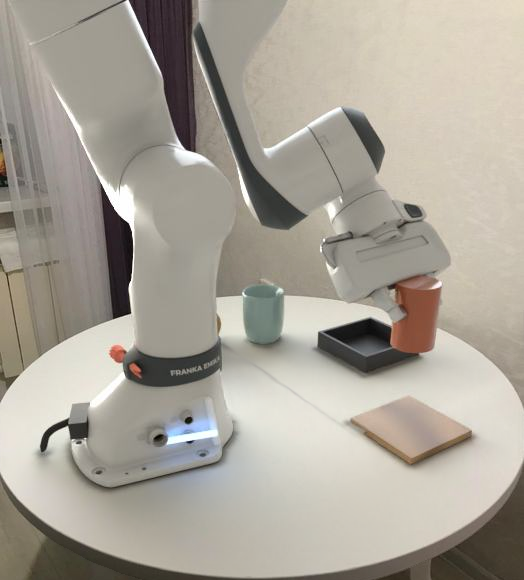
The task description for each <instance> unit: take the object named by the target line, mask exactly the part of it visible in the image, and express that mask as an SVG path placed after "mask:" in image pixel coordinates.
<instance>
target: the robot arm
mask: <svg viewBox="0 0 524 580" xmlns="http://www.w3.org/2000/svg"><path fill="white" fill-rule="evenodd" d="M289 1H290V0H197V2H198V21H197V22H196V25H194V28H193V31H192V40H193V46H194V51H195V55H196V58H197V62H198V65H199V67H200V69H201V72H202V76H203V78H204V81H205V85H206V90H207V91H208V94H209V95H208V96H210V100H211V102H212V105H213V108H214V110H215V113H216V116H217V118H218V121H219V124H220V127H221V130H222V132H223V134H224V138H225V139H226V143H227V145H228V148H229V151H230V153H231V155H232V156H233V160H234V162H235V164H236V169H237V173H238V177H239V183H240V188H241V192H242V196H243V199H244V201H245V204H246V206H247V208H248V210H249V212H250V213H251V215H252V217H253V218H254V219H255V220H256V221H257V222H258V223H260V225H261V226H262V227H265V228H269V229H272V230H273V229H274V230H281V231H290V229H292V228H293V227H295V226H296V225H298V224H299V223H300V222H302V221H303V220H305V219H306V218H308V217H309V215H310V214H312V213H314V212H315V211H317V210H319V209H320V208H324V209H325V211H326V213H327V215H328V217H329V223H330V225H331V228H332V229H333V231H334V232H335V234H336V235H330V236H329V235H328V236H326V237H325V238H323V241H322V242H321V244H320V249H319V251H320V254H321V256H322V257H323V259H324V261H325V265H326V270H327V272H328V275H329V277H330V280H331V282H332V285H333V287H334V289H335V291H336V293H337V295H338V297H339V298H340V299H341V300H342V301H343V302H345V303H346V304H348V305H349V304H354V303H356V302H359V301H362V300H366V299H369V298H370V299H371V300H372V302H373V303H374V305H375V306H377V307H378V308H379V309H381V310H382V311H383V312H385V313H386V314H387V315H388V317H389V318H390V320H391V323H392V322H393V323H396V322H399V321H401V320H403V319H405V318H406V317H407V316H408V312H407V311H406V310H405V307H404V306H403V304H400V305H398V304H397V303H396V302H395V301H394V298H392V297H391V296H390V295H391V291H395V284H396V283H397V282H400V281H403V280H407V279H410V278H413V277H416V276H427V277H432V278H435V279H437V276H439V275H440V274H441V273H443V272H445V271H446V270H447V269H448V268H449V267H451V266H452V265H451V264H452V257H451V253H450V252H449V250H448V248H447V246H446V245H445V242H444V241H443V240H442V237H441V236H440V235H439V233H438V232H437V230H436V229H435V227H434V226H433V225H432V224H431V223H429V222H428V221H426V220H425V219H426V218H427V217H428V215H427V212H426V209H424V207H423V206H421V205H420V204H416V203H411V202H405V201H402V200H399V199H397V198H392V197H391V196H390V194H389V193H388V191H387V190H386V189H385V188H384V187H383V186H382V185H381V184H380V183H379V182H378V180H377V178H376V176H377V175H379V173H380V170H381V168H382V165H383V161H384V157H385V154H386V149H385V145H384V143H383V142H382V140H381V138H380V137H379V136H378V134H377V132H376V130H375V129H374V127H373V126H372V124H371V123H370V121H369V119H368V117H367V115H366V114H365V112H364V111H361V110H359V109H356V108H354V107H349V106H344V105H343V106H340V107H337V108H334V109H332V110H331V111H328V112H326V113H325V114H323V115H322V116H320V117H319V118H317V119H315V120H314V121H311V122H310V123H308V124H307V125H306V126H305V127H304V128H302V129H300V130H299V131H296V133H295V132H294V134H292V135H291V136H289V137H287V138H286V139H284V140H282V141H281V142H279V143H277V144H276V145H273V146H272V147H268V148H267V147H264V146H263V144H262V140H261V138H260V135H259V132H258V129H257V126H256V123H255V120H254V117H253V115H252V111H251V108H250V105H249V102H248V99H247V95H246V93H245V77H246V72H247V69H248V67H249V65H250V62H251V60H252V58H253V56H254V54H255V53H256V52H257V50H258V49H259V47H260V46H261V44H262V43H263V41H264V40H265V39H266V37H267V35H268V34H269V33H270V32H271V30H272V29H273V28H274V26H276V24H277V22H278V21H279V19H280V18H281V16H282V15H283V13H284V11H285V9H286V7H287V6H288V3H289ZM7 3H8V5H9V7H10V10H11V11H12V13H13V16H14V18H15V20H16V22H17V24H18V26H19V28H20V30H21V32H22V34H23V35H24V37H25V39H26V42H27V43H28V44H29V45H30V48H31V50H32V52H33V54H34V55H35V57H36V60H37V62H38V63H39V65H40V67H41V68H42V70H43V72H44V74H45V75H46V77H47V79H48V81H49V82H50V84H51V86H52V88H53V90H54V92H55V93H56V95H57V97H58V99H59V101H60V103H61V104H62V106H63V108H64V109H65V111H66V113H67V115H68V117H69V118H70V121H71V123H72V124H73V126H74V128H75V130H76V133H77V135H78V137H79V139H80V141H81V144H82V147H83V148H84V150H85V153H86V154H87V157H88V159H89V161H90V163H91V165H92V167H93V169H94V171H95V173H96V175H97V177H98V179H99V181H100V184H101V185H102V187H103V189H104V191H105V193H106V195H107V197H108V199H109V201H110V203H111V205H112V206H113V207H114V210H115V211H116V212H117V214H118V215H119V216H120V217H121V218H122V219H123V220H124V221H126V222H127V223H128V224H129V226H130V229H131V232H132V241H133V255H132V256H133V258H132V273H131V281H130V282H129V285H128V294H129V295H128V296H129V303H130V312H131V314H130V315H131V323H132V330H133V331H132V332H133V339H134V340H133V341H132V344H131V346H130V348H129V349H128V350H126V349H125V348H124V347H123V346H122V345H120V344H115V345H112V346H111V347H110V349H109V353H108V355H109V357H110V358H111V359H113V361H114V362H115V363H117V364H122V372H121V373H120V374H119V375H118V376H117V377H116V378H115V379H114V380H113V381H111V383H110V384H108V385H107V387H106V388H105V389H103V390H102V391H101V392H100V393H99V394H98V395H97V396H96V397H94V399H93V400H91V402H89V401H88V402H77V403H72V404H71V409H70V413H69V417H67V418H66V419H63V420H60V421H58V422H56V423H54V424H52V425H50V426H48V427H47V429H46V430H45V431H44V433H43V434H42V436H41V440H40V444H39V449H40V453H44V452H46V450H47V448H48V445H49V441H50V438H51V436H52V435H54V434H55V433H56V432H58V431H59V430H63V429H65V428H68V434H69V437H70V438H69V439H70V440H71V454H72V458H73V460H74V462H75V464H76V466H77V467H78V469H79V470H80V471H81V473H82V474H83V475H84V476H85V477H86V478H87V479H89V480H90V481H91V482H92V483H94V484H97V485H99V486H102V487H105V488H115V487H120V486H124V485H128V484H132V483H137V482H140V481H145V480H149V479H152V478H157V477H161V476H165V475H171V474H173V473H174V474H175V473H178V472H181V471H186V470H190V469H195V468H198V467H202V466H207V465H210V464H214V463H215V464H216V462H219V461H220V460H221V458H222V455H223V448H224V446H225V445H226V443H227V442H228V441H229V440H230V439H231V437H232V435H233V433H234V432H233V431H234V423H233V420H232V418H231V416H230V413H229V410H228V406H227V403H226V398H225V393H224V388H223V387H224V386H223V381H222V373H221V372H222V371H223V351H222V350H223V349H222V348H223V347H222V339H221V336H220V334H219V335H218V332H217V314H218V309H217V308H218V307H217V306H218V305H217V283H218V282H217V281H218V273H219V266H220V260H221V255H222V250H223V245H224V241H225V240H226V238H227V237H228V236H229V234H230V233H231V231H232V229H233V227H234V224H235V221H236V217H237V211H238V210H237V208H238V204H237V197H236V193H235V191H234V188H233V186H232V183H231V182H230V181H229V179H228V178H227V177H226V176H225V174H224V173H223V172H222V170H220V168H218V167H217V166H216V165H215V163H213V161H211V160H209V158H207V157H205V156H204V155H201V154H200V153H197V152H193V151H190V150H187V149H186V148H185V147H184V146H183V145H182V143H181V141H180V140H179V137H178V135H177V132H176V129H175V127H174V123H173V120H172V117H171V114H170V110H169V106H168V103H167V99H166V94H165V89H164V87H165V85H164V77H163V74H162V71H161V69H160V66H159V65H158V62H157V61H156V59H155V56H154V54H153V52H152V49H151V48H150V45H149V43H148V40H147V39H146V36H145V34H144V32H143V29H142V27H141V25H140V23H139V21H138V19H137V16H136V13H135V11H134V10H133V7H132V6H131V2H130V1H129V0H125V1H124V0H7ZM34 43H35V44H34ZM32 44H33V45H32ZM441 305H443V299H442V298H441V300H440V306H441Z"/></svg>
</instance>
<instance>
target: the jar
mask: <svg viewBox="0 0 524 580" xmlns="http://www.w3.org/2000/svg"><path fill="white" fill-rule="evenodd" d="M435 278H436V277H435ZM435 278H432V277H427V276H416V277H413V278H410V279H407V280H403V281H400V282H397V283H396V284H395V289H394V296H393V300H394V301H395V302H396V303H397V304H398V305H400V304H403V306H404V307H405V310H406V311H407V312H408V316H407V317H406V318H405V319H403V320H401V321H399V322H396V323H393V322H392V321H391V325H390V326H391V337H390V344H391V346H392V347H394V348H395V349H397V350H400V351H403V352H407V353H419V354H426V353H429V352H431V351H433V350H434V348H435V345H436V338H437V331H438V322H439V314H440V307H441V305H440V300H441V299H442V291H443V282H442V281H441V280H440V279H437V278H436V279H435Z"/></svg>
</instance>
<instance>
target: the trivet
mask: <svg viewBox="0 0 524 580" xmlns="http://www.w3.org/2000/svg"><path fill="white" fill-rule="evenodd" d="M350 422H351V423H352V424H354V425H355V426H357V427H359V428H360V429H362V430H363V431H364V434H365V435H366V436H367V437H369V438H370V439H372V440H373V441H375V442H376V443H378V444H380V445H381V446H383V447H384V448H385V449H387V450H388V451H390V453H393V454H394V455H396V456H397V457H399V458H400V459H402V460H403V461H405V462H406V463H407V464H409V465H413V464H415V463H417V462H420V461H421V460H424V459H426V458H428V457H430V456H432V455H434V454H436V453H439V452H441V451H443V450H444V449H445V450H446V449H447V448H449V447H452V446H453V445H456V444H458V443H460V442H462V441H464V440H466V439H469V438H470V437H472V434H473V430H472V429H471V428H469V427H467V426H465V425H464V424H461V423H460V422H458V421H456V420H455V419H452V418H451V417H449V416H447V415H446V414H443V413H442V412H440V411H438V410H436V409H435V408H432V407H431V406H429V405H428V404H425V403H424V402H422V401H420V400H418V399H417V398H414V397H413V396H411V395H407V396H404V397H401V398H399V399H397V400H394V401H391V402H389V403H386V404H383V405H381V406H379V407H376V408H373V409H371V410H368V411H365V412H363V413H360V414H357V415H355V416H353V417H351V418H350Z"/></svg>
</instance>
